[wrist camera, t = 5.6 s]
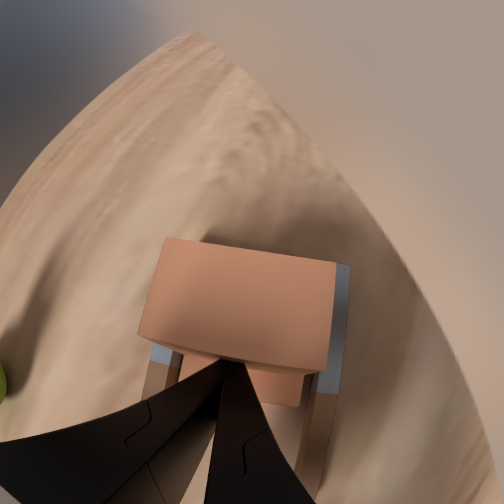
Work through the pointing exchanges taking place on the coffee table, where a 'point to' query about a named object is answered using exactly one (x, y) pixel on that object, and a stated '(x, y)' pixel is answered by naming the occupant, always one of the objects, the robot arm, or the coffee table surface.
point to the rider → (243, 313)
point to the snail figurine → (2, 384)
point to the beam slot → (321, 392)
